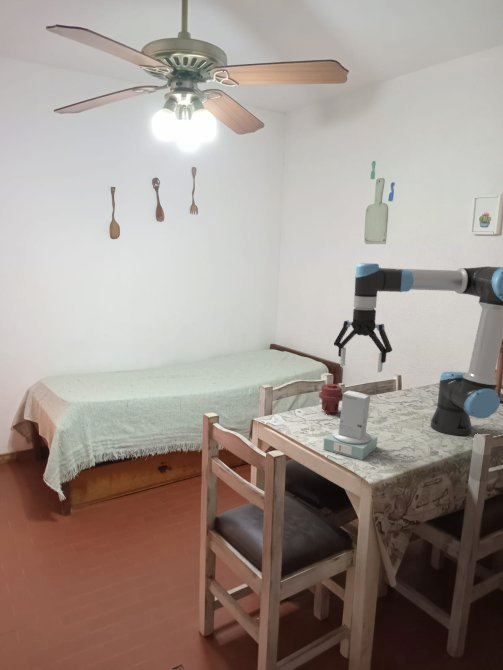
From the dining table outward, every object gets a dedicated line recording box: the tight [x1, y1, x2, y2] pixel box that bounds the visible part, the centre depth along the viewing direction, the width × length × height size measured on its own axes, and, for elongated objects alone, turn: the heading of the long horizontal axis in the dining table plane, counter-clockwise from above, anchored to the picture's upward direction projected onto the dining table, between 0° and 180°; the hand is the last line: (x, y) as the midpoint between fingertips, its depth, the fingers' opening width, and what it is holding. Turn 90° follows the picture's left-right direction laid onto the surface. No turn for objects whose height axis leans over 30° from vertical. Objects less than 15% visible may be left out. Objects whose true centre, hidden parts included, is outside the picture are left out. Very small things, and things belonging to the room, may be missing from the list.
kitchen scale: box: [323, 428, 379, 461], centre depth 170 cm, size 14×15×5 cm
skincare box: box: [338, 390, 371, 439], centre depth 169 cm, size 8×6×15 cm
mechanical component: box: [318, 383, 343, 416], centre depth 208 cm, size 12×10×10 cm
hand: (360, 368), depth 172 cm, fingers open, 13 cm apart
